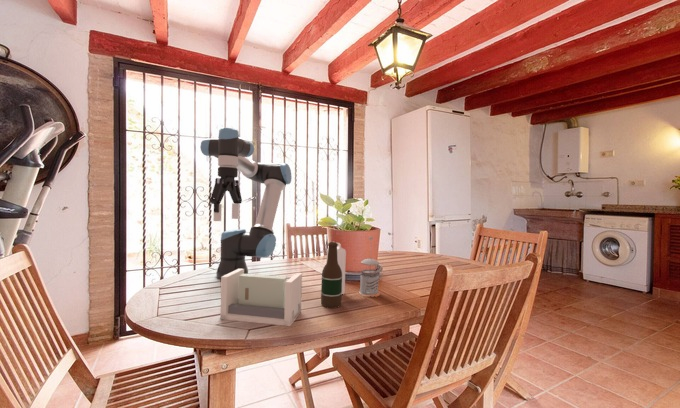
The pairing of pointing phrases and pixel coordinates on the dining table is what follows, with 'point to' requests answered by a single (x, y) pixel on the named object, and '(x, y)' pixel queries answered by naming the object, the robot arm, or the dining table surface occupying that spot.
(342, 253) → the milk
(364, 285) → the french press
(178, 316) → the dining table surface
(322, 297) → the beer bottle
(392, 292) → the dining table surface
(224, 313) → the cabinet base
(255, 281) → the door panel
